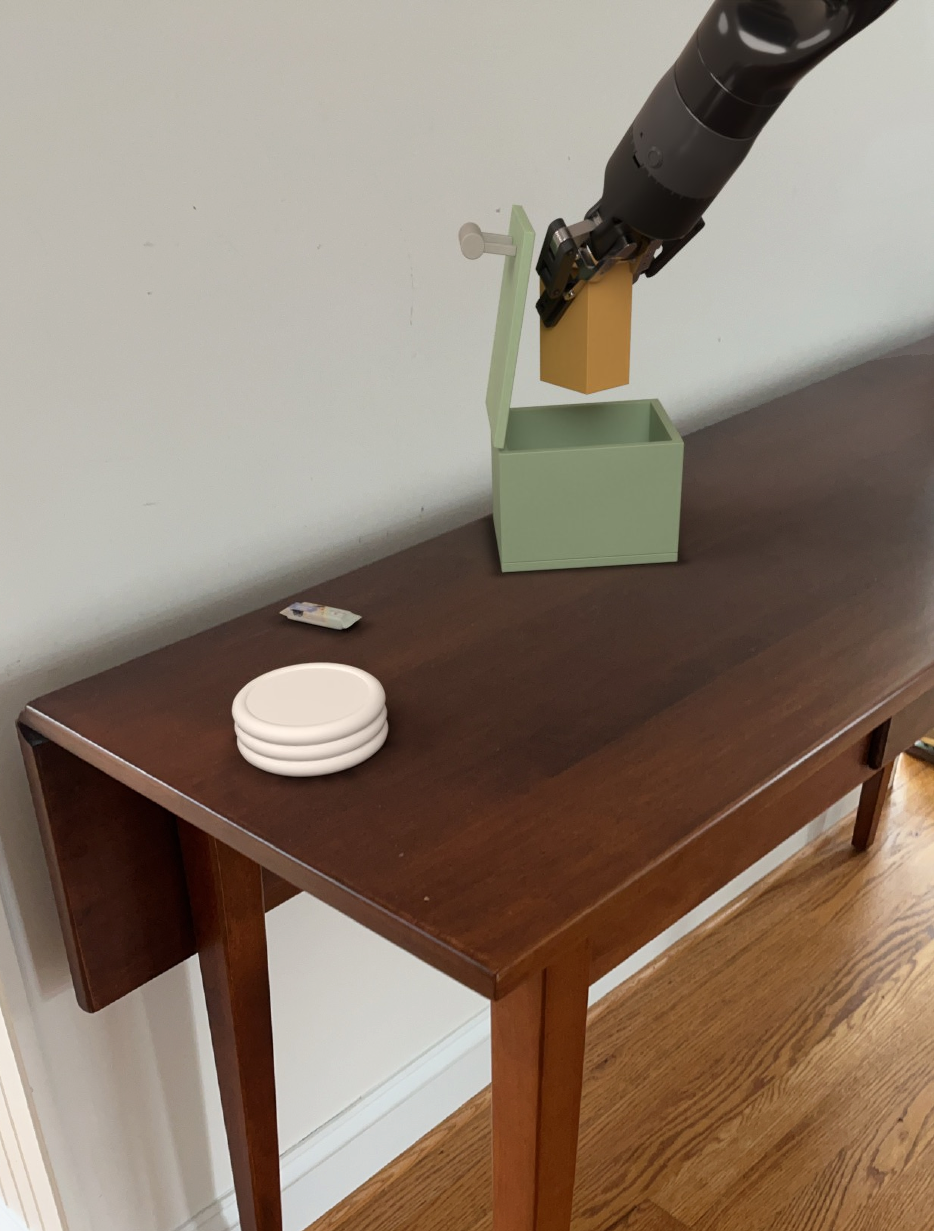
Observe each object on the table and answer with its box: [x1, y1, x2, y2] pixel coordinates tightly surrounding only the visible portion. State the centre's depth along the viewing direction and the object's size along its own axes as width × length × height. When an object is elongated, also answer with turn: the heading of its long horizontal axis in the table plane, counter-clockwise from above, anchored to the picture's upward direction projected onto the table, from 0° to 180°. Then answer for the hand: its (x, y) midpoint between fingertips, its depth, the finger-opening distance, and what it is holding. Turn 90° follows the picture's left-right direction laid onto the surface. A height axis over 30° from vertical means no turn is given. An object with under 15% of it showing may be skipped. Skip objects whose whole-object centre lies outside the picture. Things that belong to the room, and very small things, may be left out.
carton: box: [539, 252, 633, 396], centre depth 100 cm, size 4×6×9 cm
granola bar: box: [278, 600, 362, 630], centre depth 99 cm, size 7×1×3 cm
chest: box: [490, 398, 685, 573], centre depth 107 cm, size 15×13×10 cm
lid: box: [458, 204, 536, 449], centre depth 100 cm, size 15×13×5 cm
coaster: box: [231, 662, 389, 778], centre depth 83 cm, size 10×10×4 cm
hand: (569, 311), depth 101 cm, fingers closed on carton, 4 cm apart
